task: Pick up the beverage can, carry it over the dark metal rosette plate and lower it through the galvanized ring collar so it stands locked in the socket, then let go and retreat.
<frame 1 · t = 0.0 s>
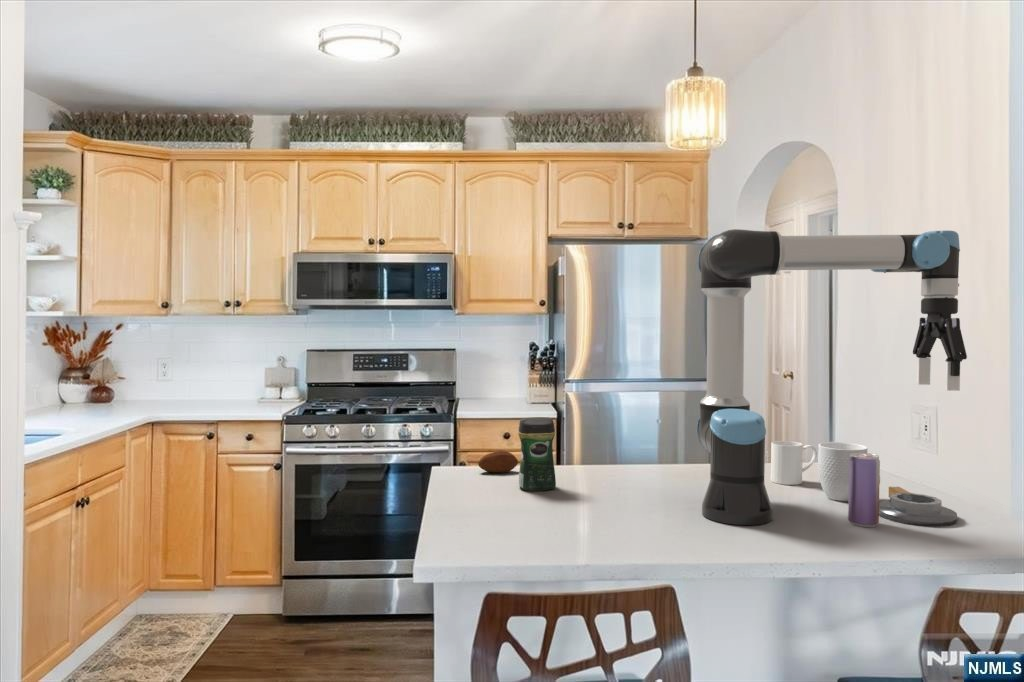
hand: (937, 387, 172), 28 cm above the counter, fingers open, 13 cm apart
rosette: (915, 516, 164), on the counter
potato: (497, 473, 209), on the counter
coffee jar: (536, 488, 190), on the counter
beverage can: (863, 524, 158), on the counter
mug 2: (793, 482, 197), on the counter
mug: (845, 500, 179), on the counter
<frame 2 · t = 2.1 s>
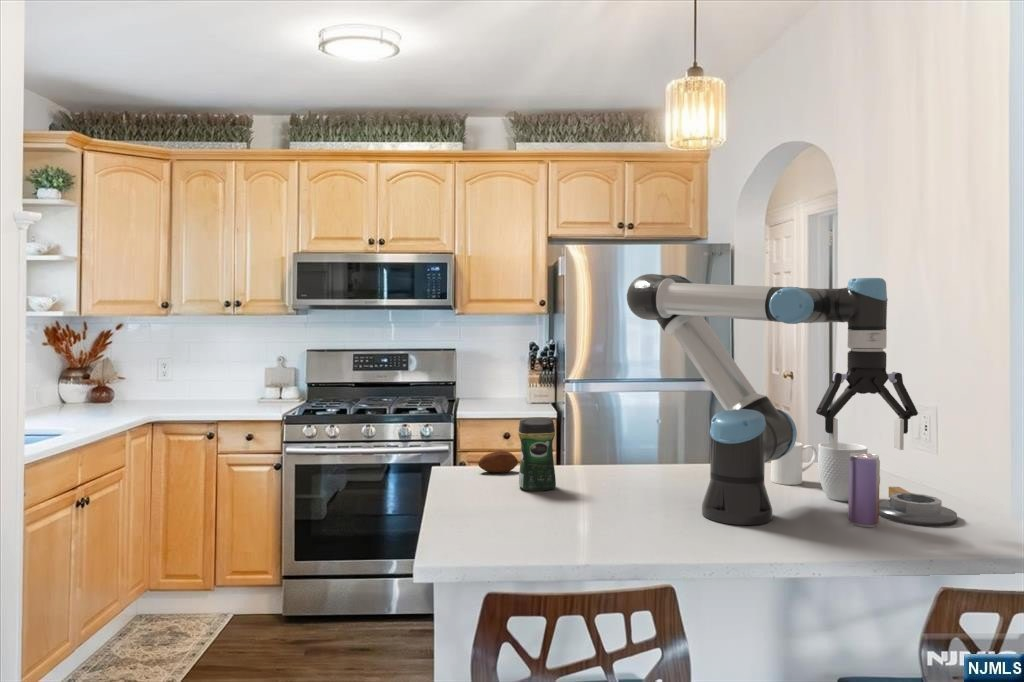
hand: (866, 448, 157), 16 cm above the counter, fingers open, 13 cm apart
nothing on the counter moved.
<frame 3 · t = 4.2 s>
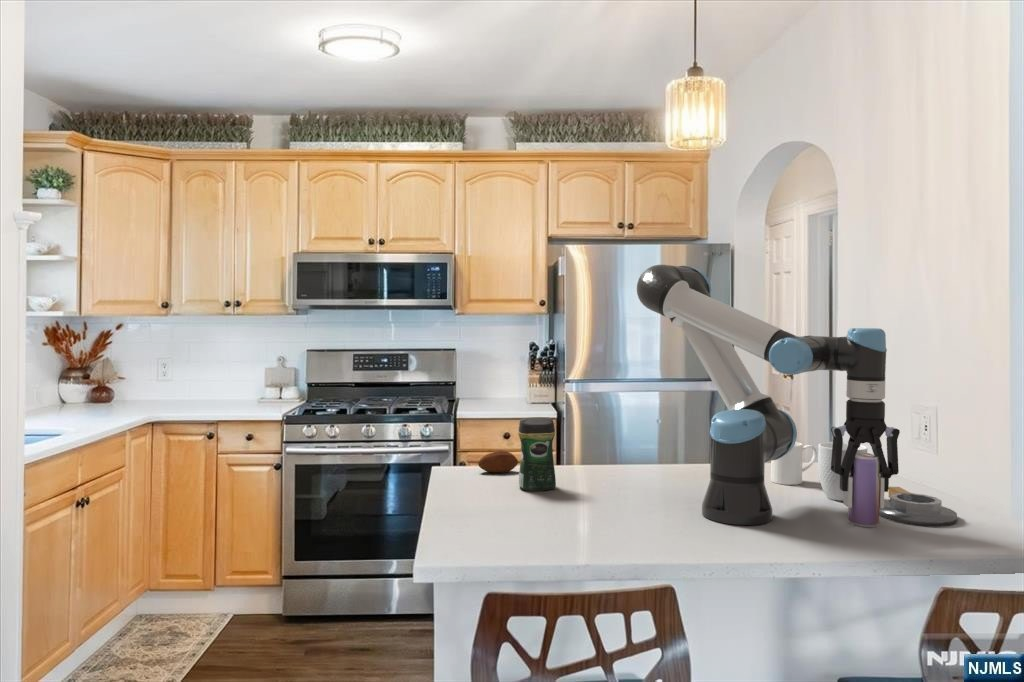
hand: (863, 506, 158), 4 cm above the counter, fingers closed on beverage can, 6 cm apart
beverage can: (863, 524, 158), on the counter, touching gripper
everything else where it was.
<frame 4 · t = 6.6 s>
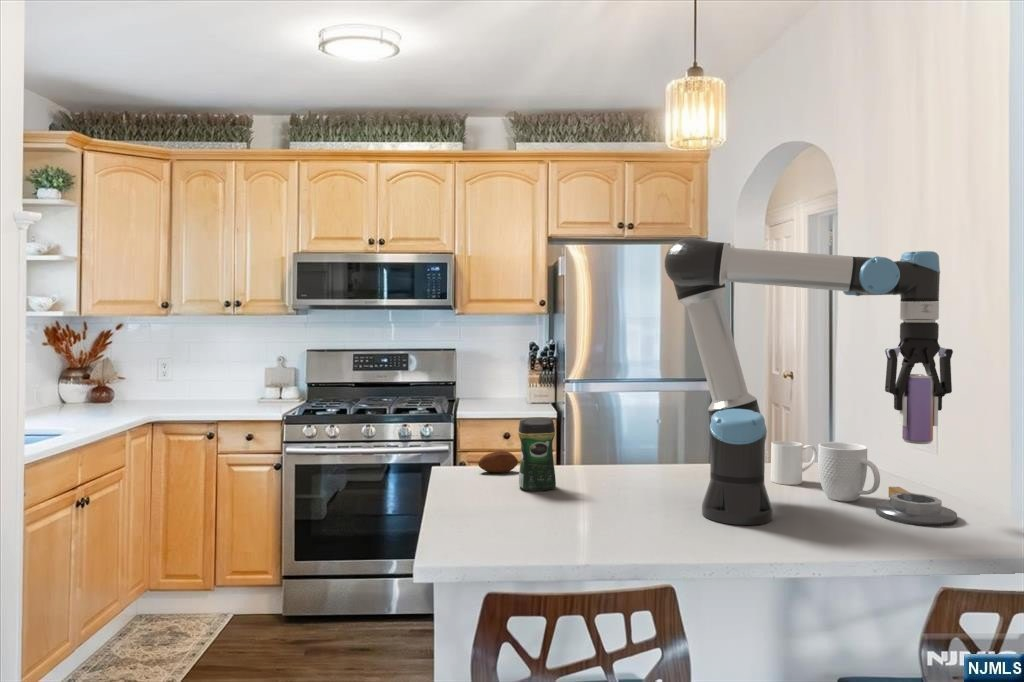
hand: (917, 424, 163), 21 cm above the counter, fingers closed on beverage can, 6 cm apart
beverage can: (917, 442, 163), point 17 cm above the counter, touching gripper
everything else where it was.
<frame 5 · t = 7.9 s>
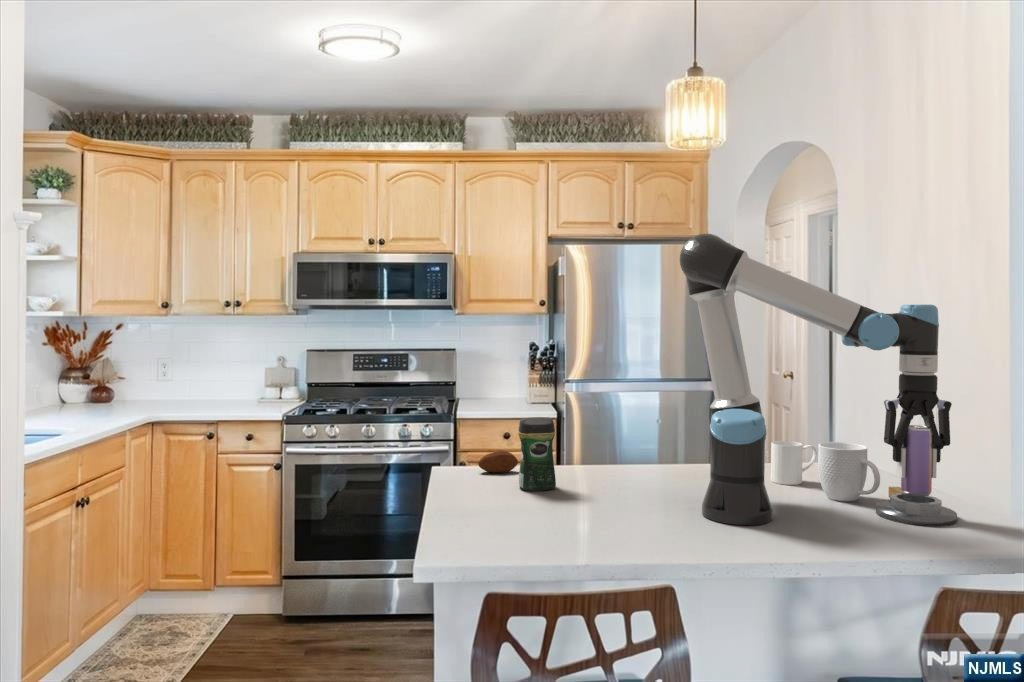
hand: (916, 476, 163), 9 cm above the counter, fingers closed on beverage can, 6 cm apart
beverage can: (916, 494, 163), point 5 cm above the counter, touching gripper
everything else where it was.
when the fingers open (6 cm above the counter, at t = 9.2 s): beverage can stays where it is, resting on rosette.
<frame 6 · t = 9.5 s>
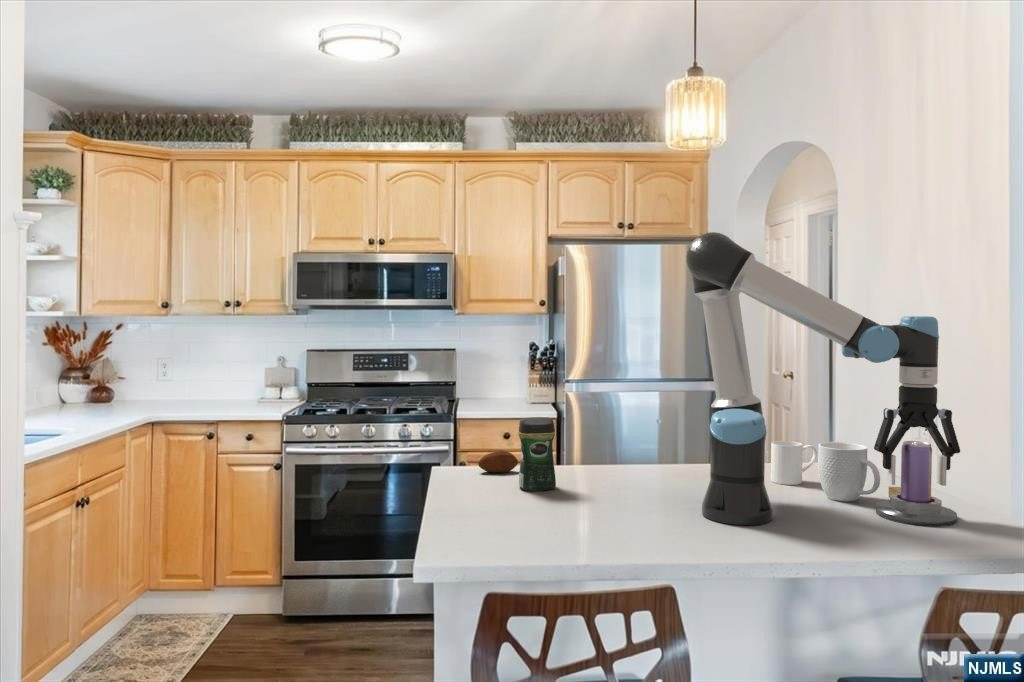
hand: (915, 483, 163), 7 cm above the counter, fingers open, 10 cm apart
beverage can: (915, 510, 164), point 1 cm above the counter, touching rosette
everything else where it was.
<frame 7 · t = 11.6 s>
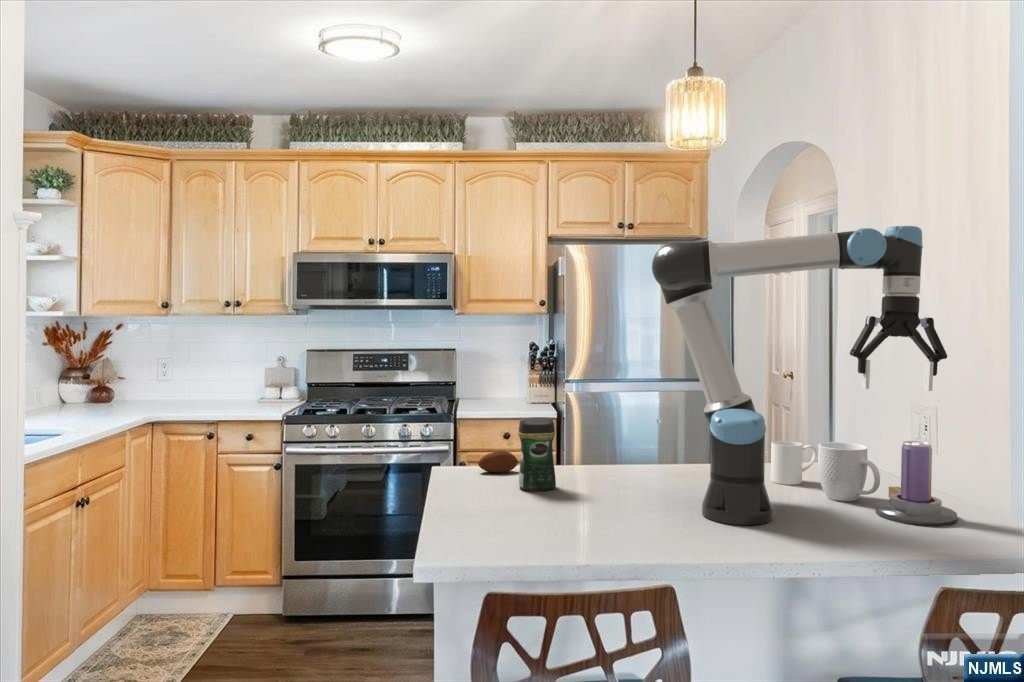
hand: (896, 389, 166), 28 cm above the counter, fingers open, 13 cm apart
nothing on the counter moved.
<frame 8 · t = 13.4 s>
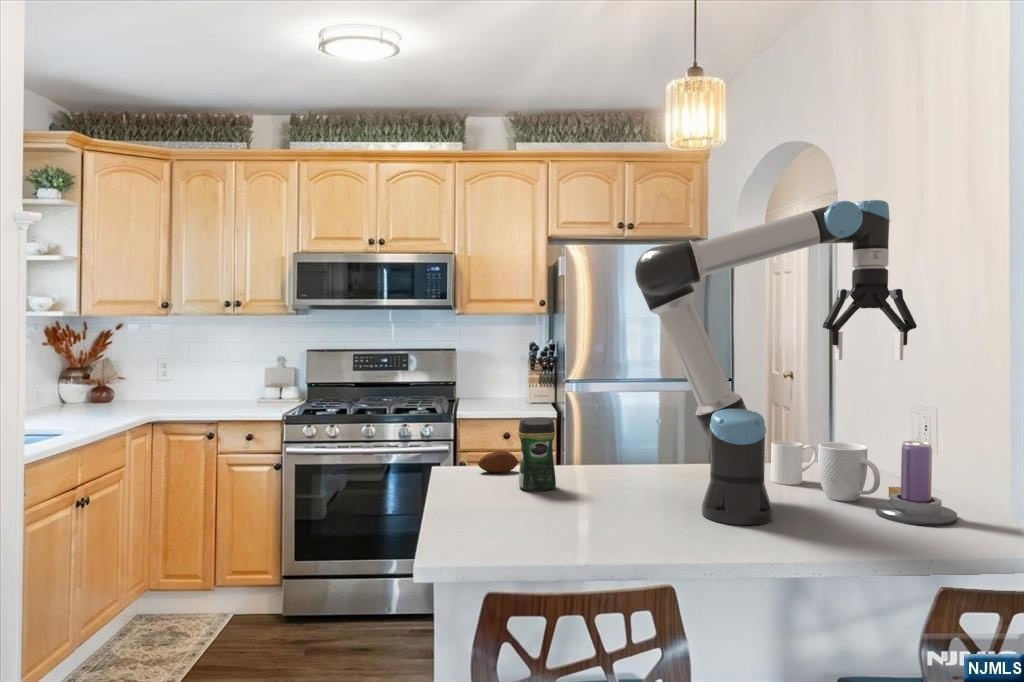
hand: (868, 359, 170), 35 cm above the counter, fingers open, 13 cm apart
nothing on the counter moved.
at the end: beverage can 0.0 cm off-centre on the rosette, point 1.3 cm above the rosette's base; beverage can tilted 0°; the gripper is holding nothing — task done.
